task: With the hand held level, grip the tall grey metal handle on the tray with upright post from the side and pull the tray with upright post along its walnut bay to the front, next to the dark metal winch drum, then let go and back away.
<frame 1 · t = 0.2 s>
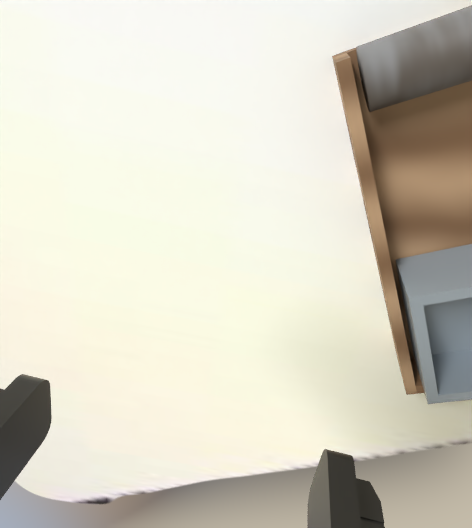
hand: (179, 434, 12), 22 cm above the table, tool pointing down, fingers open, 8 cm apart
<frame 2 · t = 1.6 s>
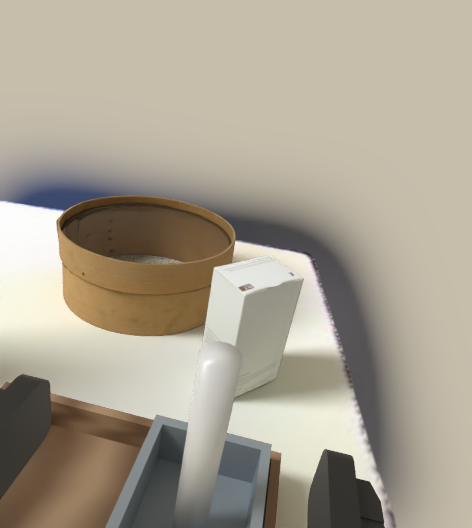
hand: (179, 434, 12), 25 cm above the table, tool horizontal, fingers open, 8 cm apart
tray with upright post: (201, 459, 28), point 10 cm above the table, slide at 0.0 cm
skincare box: (236, 378, 51), on the table
steamer basket: (146, 290, 65), on the table
bay: (101, 524, 33), on the table
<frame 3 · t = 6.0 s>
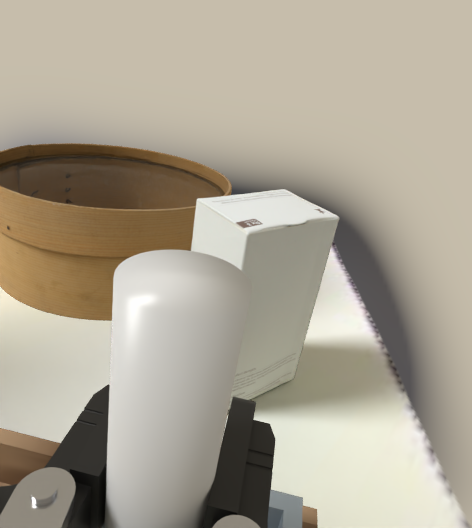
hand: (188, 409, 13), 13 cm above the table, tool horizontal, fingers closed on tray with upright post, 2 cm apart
skincare box: (235, 379, 34), on the table
steamer basket: (112, 264, 49), on the table
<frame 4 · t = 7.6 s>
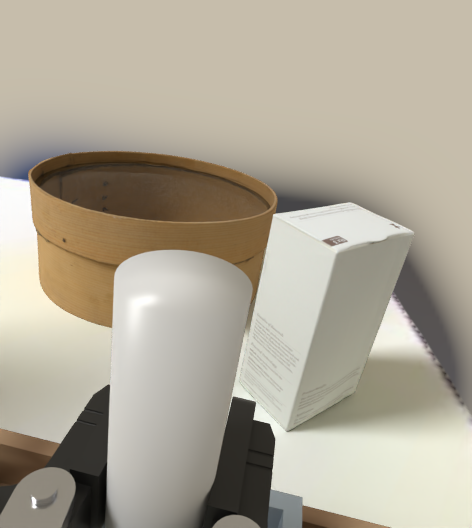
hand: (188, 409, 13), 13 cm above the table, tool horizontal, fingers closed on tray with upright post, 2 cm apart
skincare box: (296, 393, 34), on the table
steamer basket: (153, 273, 48), on the table
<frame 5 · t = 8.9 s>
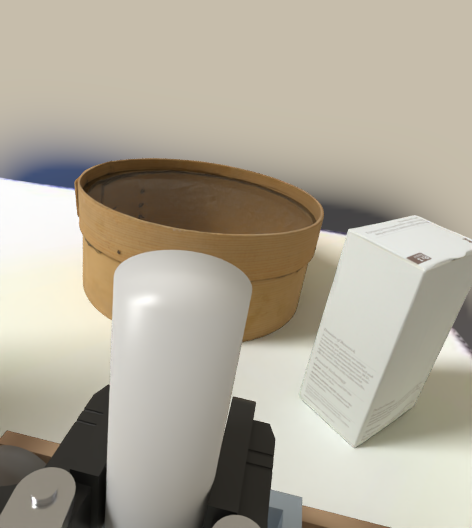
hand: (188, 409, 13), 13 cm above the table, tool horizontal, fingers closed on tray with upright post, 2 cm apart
skincare box: (355, 407, 33), on the table
steamer basket: (193, 282, 48), on the table
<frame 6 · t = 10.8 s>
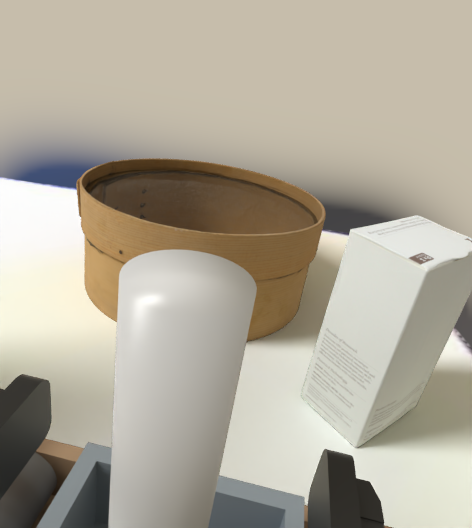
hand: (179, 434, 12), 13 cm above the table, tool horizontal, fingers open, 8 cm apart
skincare box: (357, 407, 33), on the table
steamer basket: (195, 282, 48), on the table
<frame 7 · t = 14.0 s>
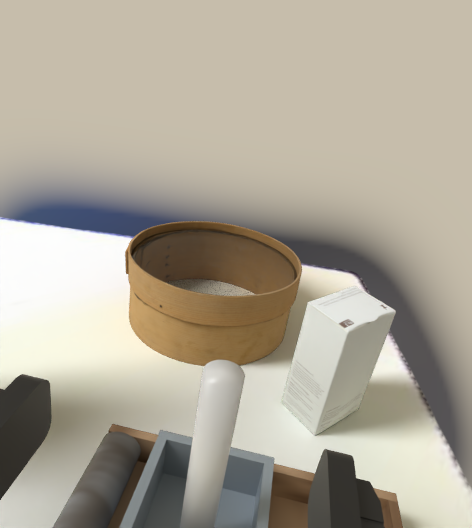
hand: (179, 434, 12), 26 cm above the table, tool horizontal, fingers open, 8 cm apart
tray with upright post: (205, 475, 28), point 10 cm above the table, slide at 9.9 cm
skincare box: (319, 409, 50), on the table
steamer basket: (208, 317, 65), on the table
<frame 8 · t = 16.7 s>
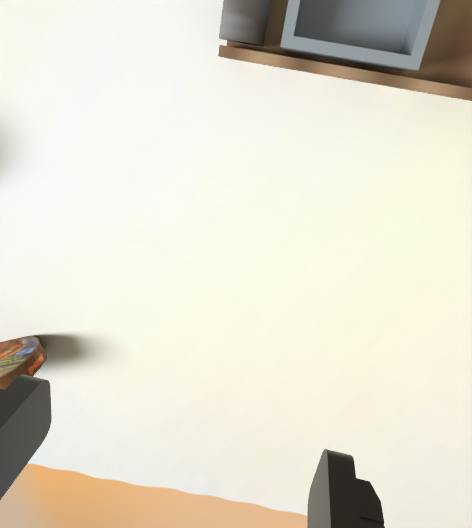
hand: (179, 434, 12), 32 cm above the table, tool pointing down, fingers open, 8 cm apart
tin: (11, 349, 56), on the table
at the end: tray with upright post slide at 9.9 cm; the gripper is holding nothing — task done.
